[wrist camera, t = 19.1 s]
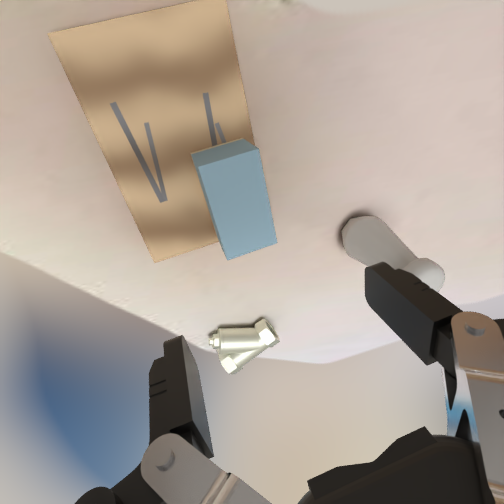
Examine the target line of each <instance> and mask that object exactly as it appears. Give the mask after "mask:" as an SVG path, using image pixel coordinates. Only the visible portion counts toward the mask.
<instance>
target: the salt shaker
mask: <svg viewBox="0 0 504 504" xmlns="http://www.w3.org/2000/svg"><path fill="white" fill-rule="evenodd" d="M341 233H342V239H343V246H344V249H345V251H346V253H347V254H348V256H350V257H352V258H354V259H356V260H358V261H359V262H361V263H363V264H365V265H367V266H371V265H374V264H377V263H379V262H382V261H383V262H386V263H387V264H389V265H390V266H391V267H392V268H394V269H395V270H396V269H398V268H400V269H402V270H405V271H407V272H410V273H412V274H414V275H415V276H416V277H418V278H419V279H420V280H422V282H424V283H426V284H427V285H428V286H430V288H432V289H434V290H435V291H436V292H439V290H440V289H441V287H442V286H443V284H444V280H445V274H444V270H443V269H442V268H441V267H440V266H439V265H438V264H437V263H435V262H434V261H432V260H430V259H428V258H417V257H416V256H415V255H414V254H413V253H412V251H411V250H410V249H409V248H408V247H407V246H406V245H405V244H404V243H403V242H402V241H401V240H400V239H399V238H398V236H397V235H396V234H395V233H394V232H393V231H392V230H391V229H390V228H389V227H388V226H387V225H386V224H385V223H384V222H383V221H382V220H381V219H379V218H378V217H375V216H360V217H356V218H352V219H349V221H348V222H347V223H346V225H345V226H344V228H343V229H342V230H341Z"/></svg>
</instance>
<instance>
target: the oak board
mask: <svg viewBox="0 0 504 504" xmlns="http://www.w3.org/2000/svg"><path fill="white" fill-rule="evenodd" d="M47 34H48V36H49V38H50V40H51V43H52V45H53V47H54V49H55V51H56V53H57V55H58V57H59V60H60V62H61V64H62V66H63V68H64V70H65V72H66V75H67V77H68V79H69V81H70V83H71V85H72V87H73V90H74V92H75V94H76V96H77V98H78V100H79V102H80V105H81V107H82V109H83V111H84V113H85V115H86V117H87V120H88V122H89V124H90V126H91V128H92V130H93V132H94V135H95V137H96V139H97V141H98V143H99V145H100V147H101V149H102V152H103V154H104V156H105V158H106V160H107V162H108V164H109V167H110V169H111V171H112V173H113V175H114V177H115V179H116V182H117V184H118V186H119V188H120V190H121V192H122V194H123V197H124V199H125V201H126V203H127V205H128V207H129V209H130V212H131V214H132V216H133V218H134V220H135V222H136V224H137V227H138V229H139V231H140V233H141V235H142V237H143V239H144V242H145V244H146V246H147V248H148V250H149V252H150V254H151V256H152V259H153V261H154V263H156V262H159V261H162V260H165V259H168V258H171V257H174V256H177V255H180V254H183V253H186V252H189V251H192V250H195V249H198V248H201V247H204V246H207V245H210V244H213V243H216V242H219V240H218V238H217V235H216V232H215V229H214V225H213V222H212V219H211V216H210V213H209V210H208V207H207V204H206V200H205V197H204V194H203V191H202V188H201V185H200V182H199V179H198V175H197V172H196V169H195V166H194V163H193V160H192V157H191V153H192V152H196V151H199V150H203V149H206V148H209V147H213V146H216V145H219V144H223V143H226V142H230V141H233V140H236V139H240V138H243V139H245V140H246V141H248V142H249V143H251V144H252V145H254V146H255V144H254V139H253V134H252V129H251V124H250V119H249V114H248V109H247V104H246V99H245V94H244V89H243V84H242V79H241V74H240V69H239V64H238V59H237V54H236V49H235V44H234V39H233V34H232V29H231V24H230V18H229V13H228V8H227V3H226V0H196V1H192V2H187V3H183V4H178V5H174V6H169V7H165V8H160V9H156V10H151V11H147V12H142V13H138V14H133V15H129V16H124V17H119V18H115V19H110V20H106V21H101V22H97V23H92V24H88V25H83V26H79V27H74V28H70V29H65V30H61V31H56V32H52V33H47Z"/></svg>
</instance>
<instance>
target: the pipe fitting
mask: <svg viewBox="0 0 504 504" xmlns="http://www.w3.org/2000/svg"><path fill="white" fill-rule="evenodd" d="M278 342H280V341H279V337H278V335H277V333H276V331H275V330H274V328H273V327H272V326H271V325H270V323H269V322H268V321H267V320H265V319H261V320H260V321H259V322H257V323H256V324H255V327H254V328H219V329H218V330H217V334H213V336H212V338H209V345H212V347H213V349H217V353H218V357H219V360H220V363H221V364H222V366H223V368H224V369H225V370H226V371H227V372H228V373H229V374H236V373H237V372H239V371H240V370H241V369H243V366H244V365H245V364H246V363H248V362H249V361H250V360H252V359H253V358H255V357H256V356H257V355H259V354H260V353H262V352H263V351H264V350H266V349H267V348H268V347H273V346H274V345H276V344H277V343H278Z"/></svg>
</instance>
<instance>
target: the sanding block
mask: <svg viewBox="0 0 504 504" xmlns="http://www.w3.org/2000/svg"><path fill="white" fill-rule="evenodd" d="M191 157H192V160H193V163H194V166H195V169H196V172H197V175H198V179H199V182H200V185H201V188H202V191H203V194H204V197H205V200H206V204H207V207H208V210H209V213H210V216H211V219H212V222H213V225H214V229H215V232H216V235H217V238H218V240H219V242H220V244H221V247H222V249H223V251H224V254H225V256H226V258H227V260H230V259H233V258H236V257H239V256H241V255H244V254H247V253H250V252H253V251H256V250H259V249H261V248H264V247H267V246H270V245H273V244H276V243H277V239H276V234H275V229H274V224H273V219H272V214H271V208H270V203H269V198H268V193H267V188H266V183H265V178H264V173H263V168H262V163H261V158H260V153H259V148H257V147H256V146H254V145H252V144H251V143H249V142H248V141H246V140H245V139H243V138H240V139H236V140H233V141H230V142H226V143H223V144H219V145H216V146H213V147H209V148H206V149H203V150H199V151H196V152H192V153H191Z"/></svg>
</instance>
